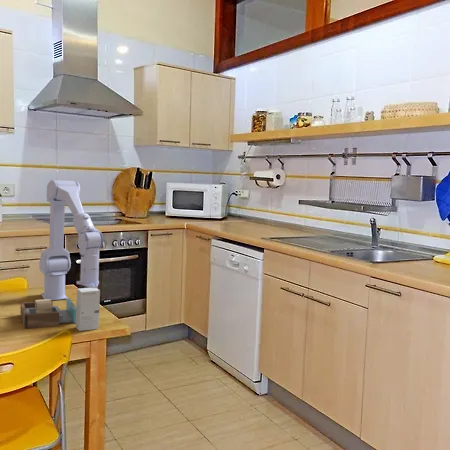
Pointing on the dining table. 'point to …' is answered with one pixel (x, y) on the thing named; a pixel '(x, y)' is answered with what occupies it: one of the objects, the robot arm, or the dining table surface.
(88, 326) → the skincare box
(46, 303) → the birch block
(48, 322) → the dock
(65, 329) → the dining table surface
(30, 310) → the tray
